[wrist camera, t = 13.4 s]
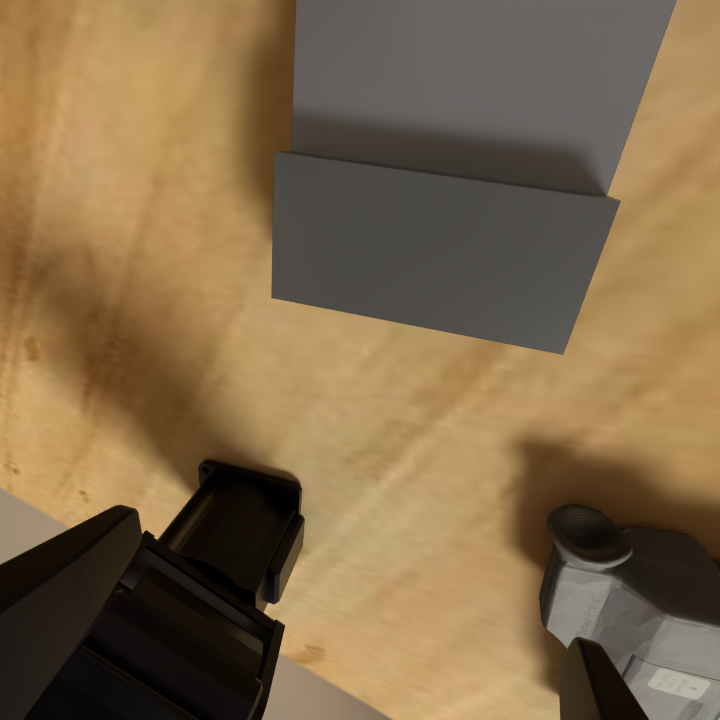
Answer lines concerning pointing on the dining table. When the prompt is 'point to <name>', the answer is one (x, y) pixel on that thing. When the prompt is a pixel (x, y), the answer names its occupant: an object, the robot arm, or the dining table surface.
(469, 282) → the grey stepped base
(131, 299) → the dining table surface
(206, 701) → the robot arm
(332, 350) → the dining table surface
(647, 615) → the camcorder
